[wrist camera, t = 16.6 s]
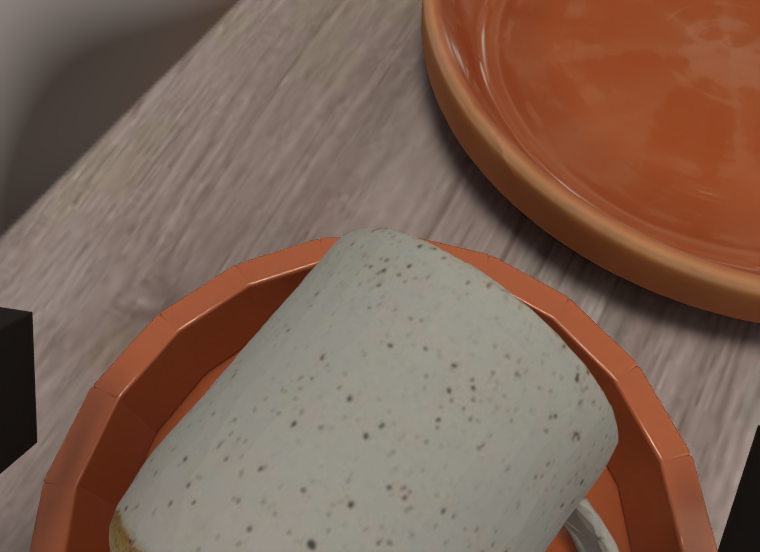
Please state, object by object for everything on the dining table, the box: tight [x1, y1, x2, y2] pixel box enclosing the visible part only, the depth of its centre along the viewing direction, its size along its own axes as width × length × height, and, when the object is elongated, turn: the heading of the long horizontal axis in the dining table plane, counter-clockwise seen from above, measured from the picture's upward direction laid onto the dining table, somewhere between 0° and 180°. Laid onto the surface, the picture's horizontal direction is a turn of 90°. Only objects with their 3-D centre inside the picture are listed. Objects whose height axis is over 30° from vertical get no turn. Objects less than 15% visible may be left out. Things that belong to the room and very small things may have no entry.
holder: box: [30, 237, 718, 552], centre depth 16 cm, size 15×15×4 cm
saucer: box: [421, 0, 760, 323], centre depth 24 cm, size 23×23×4 cm
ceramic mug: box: [109, 228, 620, 552], centre depth 13 cm, size 11×8×8 cm
